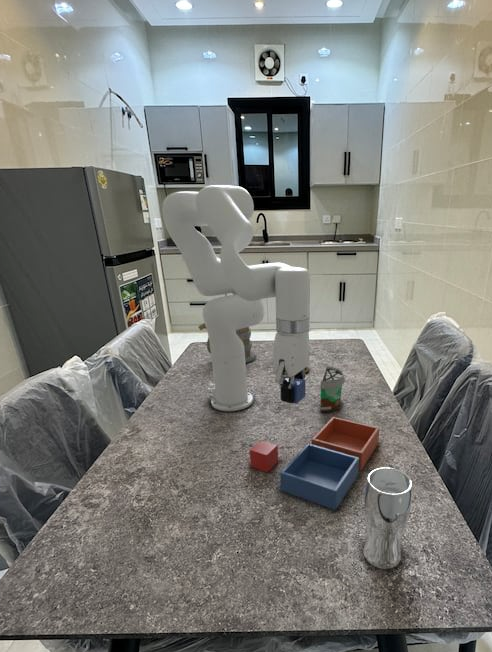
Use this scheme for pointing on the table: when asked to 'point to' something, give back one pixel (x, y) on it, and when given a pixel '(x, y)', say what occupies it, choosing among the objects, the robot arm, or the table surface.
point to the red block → (264, 456)
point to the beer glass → (386, 515)
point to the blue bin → (320, 475)
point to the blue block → (298, 389)
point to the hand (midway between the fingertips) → (293, 396)
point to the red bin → (348, 438)
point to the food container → (331, 389)
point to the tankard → (244, 336)
